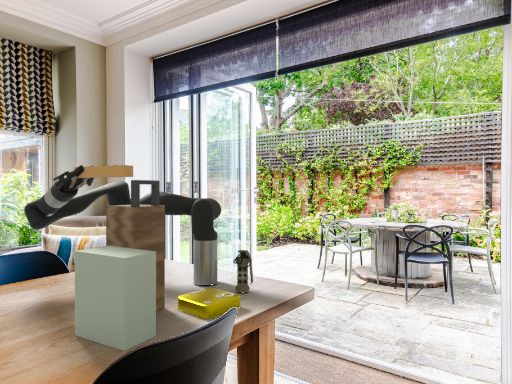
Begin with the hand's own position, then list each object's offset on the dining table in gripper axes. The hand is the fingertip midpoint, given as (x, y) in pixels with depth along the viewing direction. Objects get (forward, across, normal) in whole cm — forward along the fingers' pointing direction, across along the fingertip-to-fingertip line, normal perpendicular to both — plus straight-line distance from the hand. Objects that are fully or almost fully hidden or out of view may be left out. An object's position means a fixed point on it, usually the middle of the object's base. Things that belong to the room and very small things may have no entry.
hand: (88, 167), depth 123 cm
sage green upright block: (+6, -16, +54) cm, 57 cm away
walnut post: (-3, 0, +49) cm, 49 cm away
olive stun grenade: (+13, +32, +59) cm, 68 cm away
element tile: (+12, +13, +59) cm, 61 cm away
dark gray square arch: (+17, 0, +23) cm, 29 cm away
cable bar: (+4, 0, +6) cm, 8 cm away
